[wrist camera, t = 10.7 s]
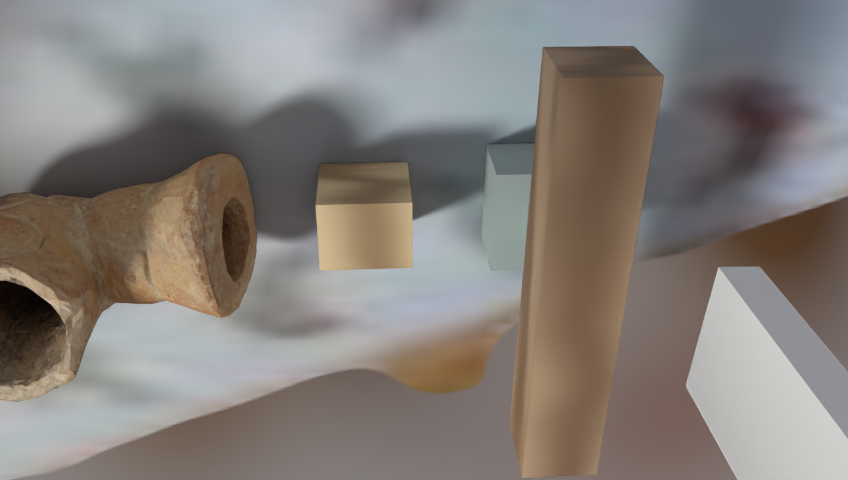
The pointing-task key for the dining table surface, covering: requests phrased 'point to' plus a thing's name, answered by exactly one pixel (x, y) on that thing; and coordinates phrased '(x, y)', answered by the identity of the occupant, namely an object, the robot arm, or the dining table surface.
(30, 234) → the pipe
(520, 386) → the rod
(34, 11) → the dining table surface
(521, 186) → the block
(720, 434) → the robot arm
